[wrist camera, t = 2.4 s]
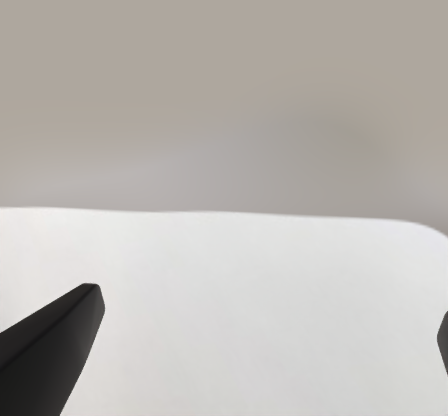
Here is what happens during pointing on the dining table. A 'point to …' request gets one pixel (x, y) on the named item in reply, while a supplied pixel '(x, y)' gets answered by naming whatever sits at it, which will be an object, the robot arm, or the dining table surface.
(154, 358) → the dining table surface
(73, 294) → the robot arm
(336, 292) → the dining table surface
